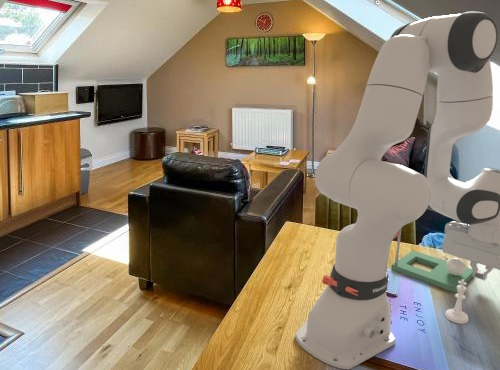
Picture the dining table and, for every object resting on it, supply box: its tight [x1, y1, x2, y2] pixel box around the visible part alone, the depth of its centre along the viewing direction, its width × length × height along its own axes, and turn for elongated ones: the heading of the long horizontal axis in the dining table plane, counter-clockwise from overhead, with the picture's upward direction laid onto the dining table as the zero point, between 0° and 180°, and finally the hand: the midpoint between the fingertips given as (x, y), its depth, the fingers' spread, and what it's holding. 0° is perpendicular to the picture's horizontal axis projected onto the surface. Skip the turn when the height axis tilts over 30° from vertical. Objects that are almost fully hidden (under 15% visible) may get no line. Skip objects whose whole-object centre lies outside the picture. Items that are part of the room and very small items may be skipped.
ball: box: [446, 257, 467, 276], centre depth 107 cm, size 5×5×5 cm
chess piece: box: [445, 279, 469, 324], centre depth 89 cm, size 5×5×10 cm
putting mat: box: [391, 227, 473, 294], centre depth 109 cm, size 17×18×14 cm
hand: (479, 277), depth 102 cm, fingers closed
